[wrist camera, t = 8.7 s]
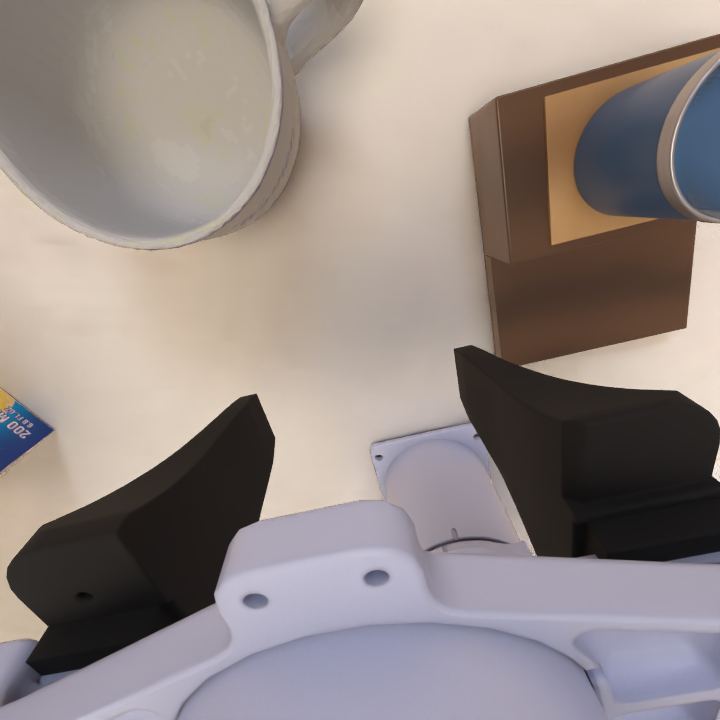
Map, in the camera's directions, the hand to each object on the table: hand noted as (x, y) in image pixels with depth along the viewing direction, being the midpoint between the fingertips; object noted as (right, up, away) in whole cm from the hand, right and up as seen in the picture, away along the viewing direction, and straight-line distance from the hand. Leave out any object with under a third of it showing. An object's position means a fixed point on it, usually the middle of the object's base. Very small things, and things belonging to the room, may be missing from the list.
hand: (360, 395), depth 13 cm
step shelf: (+12, +9, +8) cm, 17 cm away
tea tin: (+12, +10, +3) cm, 16 cm away
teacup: (-6, +14, +6) cm, 16 cm away
